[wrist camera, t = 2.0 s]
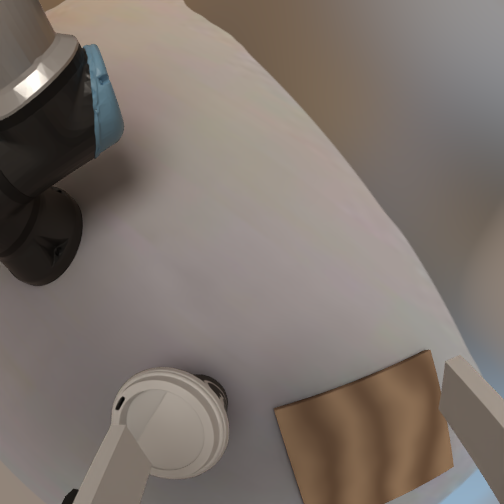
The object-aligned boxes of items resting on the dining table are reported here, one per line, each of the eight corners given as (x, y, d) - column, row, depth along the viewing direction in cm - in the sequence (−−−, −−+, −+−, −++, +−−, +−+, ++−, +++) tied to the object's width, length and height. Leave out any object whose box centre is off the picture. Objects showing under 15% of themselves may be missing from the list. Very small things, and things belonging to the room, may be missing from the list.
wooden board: (311, 524, 27) (312, 529, 26) (273, 408, 33) (274, 410, 31) (448, 463, 28) (453, 466, 27) (424, 350, 34) (430, 349, 32)
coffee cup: (207, 345, 35) (170, 342, 21) (257, 409, 33) (254, 448, 18) (146, 389, 34) (80, 407, 19) (194, 451, 31) (154, 504, 17)
